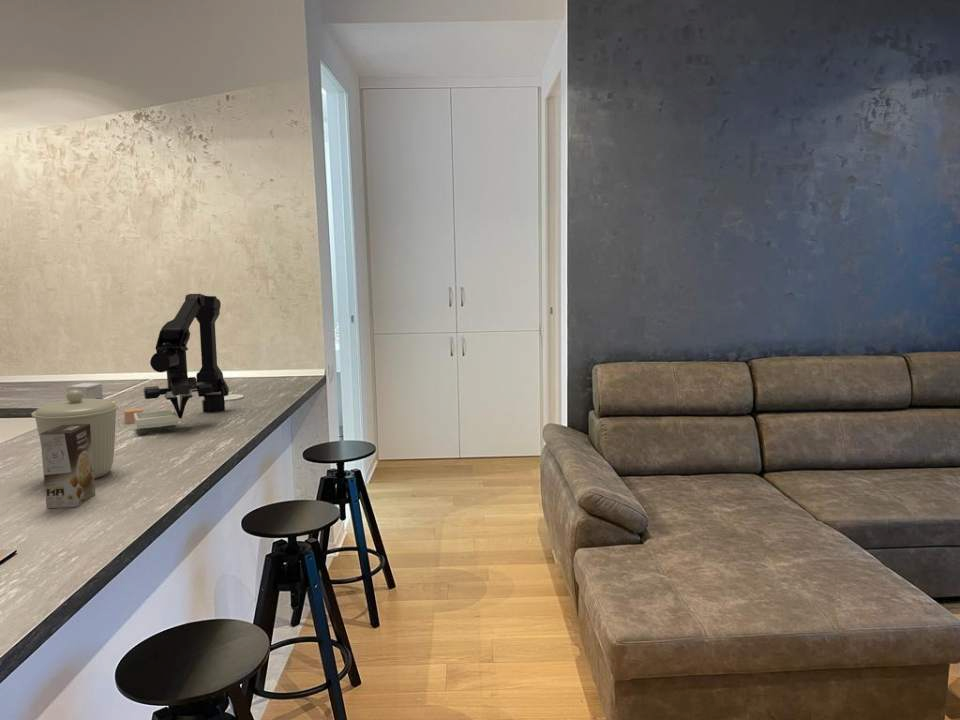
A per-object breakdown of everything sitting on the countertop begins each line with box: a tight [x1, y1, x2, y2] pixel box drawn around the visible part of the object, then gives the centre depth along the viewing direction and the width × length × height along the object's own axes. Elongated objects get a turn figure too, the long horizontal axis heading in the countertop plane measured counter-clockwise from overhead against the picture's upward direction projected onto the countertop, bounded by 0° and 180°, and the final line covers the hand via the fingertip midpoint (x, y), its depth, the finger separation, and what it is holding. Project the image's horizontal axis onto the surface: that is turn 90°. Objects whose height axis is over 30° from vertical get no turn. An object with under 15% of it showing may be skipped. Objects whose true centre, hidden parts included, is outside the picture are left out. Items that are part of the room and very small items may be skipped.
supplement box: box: [66, 382, 104, 399], centre depth 232 cm, size 7×7×13 cm
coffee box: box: [40, 424, 96, 509], centre depth 155 cm, size 9×6×16 cm
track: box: [130, 422, 209, 437], centre depth 219 cm, size 21×12×1 cm, turn 119°
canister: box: [31, 390, 119, 480], centre depth 173 cm, size 18×18×21 cm
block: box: [123, 407, 144, 425], centre depth 229 cm, size 5×5×5 cm
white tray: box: [134, 409, 179, 436], centre depth 217 cm, size 11×11×5 cm
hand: (180, 418), depth 220 cm, fingers closed
